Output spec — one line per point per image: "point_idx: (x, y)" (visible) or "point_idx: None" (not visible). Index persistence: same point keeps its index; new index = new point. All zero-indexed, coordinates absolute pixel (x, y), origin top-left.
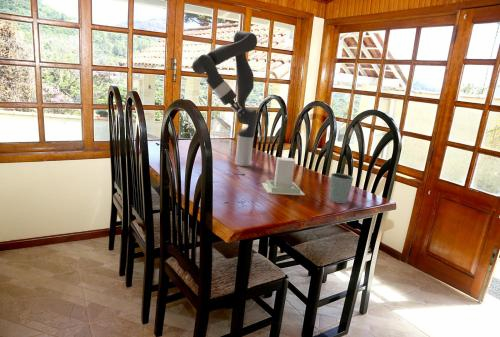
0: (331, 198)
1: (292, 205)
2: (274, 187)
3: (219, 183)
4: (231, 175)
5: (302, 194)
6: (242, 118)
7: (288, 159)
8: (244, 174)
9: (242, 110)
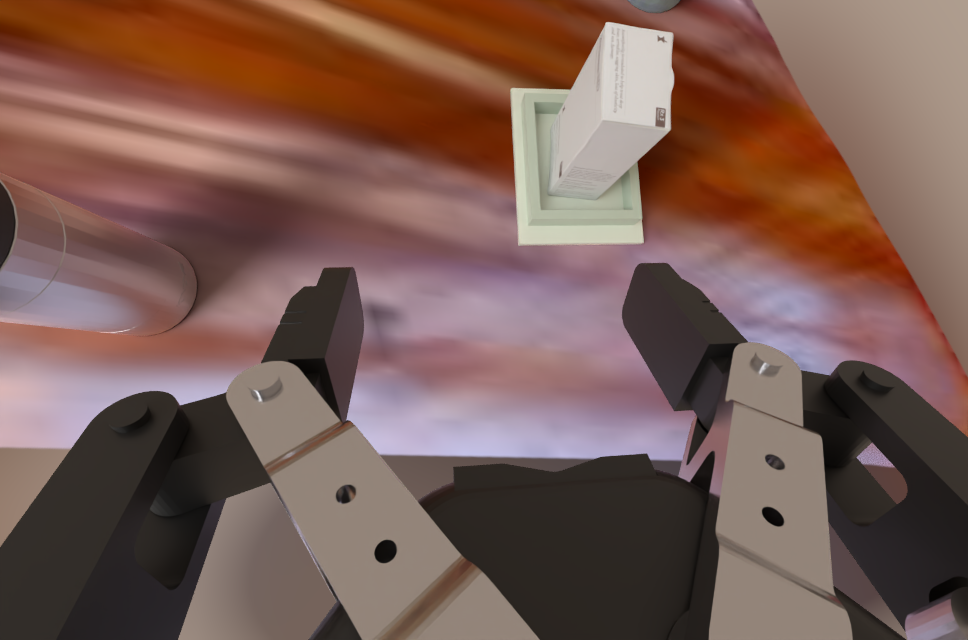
0: (671, 3)
1: (748, 179)
2: (637, 207)
3: (559, 446)
4: (409, 378)
5: None
6: (363, 327)
7: (649, 61)
8: (372, 305)
9: (921, 404)
